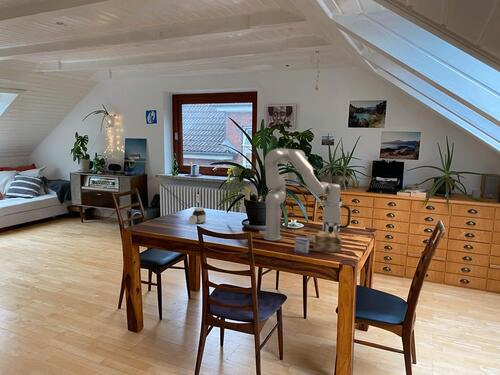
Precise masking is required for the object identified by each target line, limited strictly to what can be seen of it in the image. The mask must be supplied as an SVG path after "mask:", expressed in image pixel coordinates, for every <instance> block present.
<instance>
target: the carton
mask: <svg viewBox="0 0 500 375" xmlns="http://www.w3.org/2000/svg"><path fill="white" fill-rule="evenodd" d="M305 238H309V242H310V241H311V242H312V243H313V246H312V251H317V252H319V251H320V252H329V253H339V254H342V244H343V243H341V242H340V241H339V239H338V238H337V236H336V235H335V234H334V232H332V233H329V232H324V231H323V230H317V234H316V235H313V234H311V233H308V232H306V237H305Z"/></svg>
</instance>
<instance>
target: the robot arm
mask: <svg viewBox="0 0 500 375" xmlns="http://www.w3.org/2000/svg"><path fill="white" fill-rule="evenodd" d="M280 162H288V163H289V162H290V164H292V166H293V167H294V168H295V169H296V171H298V173H299V174H300V175H301V177H302V180H303V181H304V183H305V185H306V186H307V188H308V189H309V190H310V191H311V192H312V194H314V195H315V196H317V197H321V196H323V195H325V194H327V195H326V196H327V201H326V202H325V201H324V203H323V205H324V204H327V205H326V206H325V209H324V208H323V212H324V216H322V224H323V223H325V224H327V225H328V227H329V229H328V232H329V233H332V232H333V228H334V226H336V225H339V224H340V225H341V219H340V217H342V209H341V210H340V206H339V200H340V197H341V185H340V184H338V183H330V182H325V181H319V180H318V178H317V177H316V175H315V173H314V168H313V166H312V164H311V163H310V162H309V161H308V160H307V159H306V154H305V152H304V151H303V150H302V149H293V148H274V149H272V150H270V151H269V152H268V153H267V154H266V155H265V158H264V168H265V184H266V187H267V189H269V190H271V192H269V193H267V194H266V196H265V199H264V200H265V211H266V212H265V230H259V232H258V233H259V234H260V235H263V236H262V238H263V239H264V240H266V241H273V242H274V241H280V240H282V238H283V236H282V235H281V234H280V232H281V204H282V203H284V202H285V200H286V197H287V196H286V181H285V178H284V176H283V175H281V174H279V167H278V163H280ZM330 223H333V224H332V226H331V225H330Z"/></svg>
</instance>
